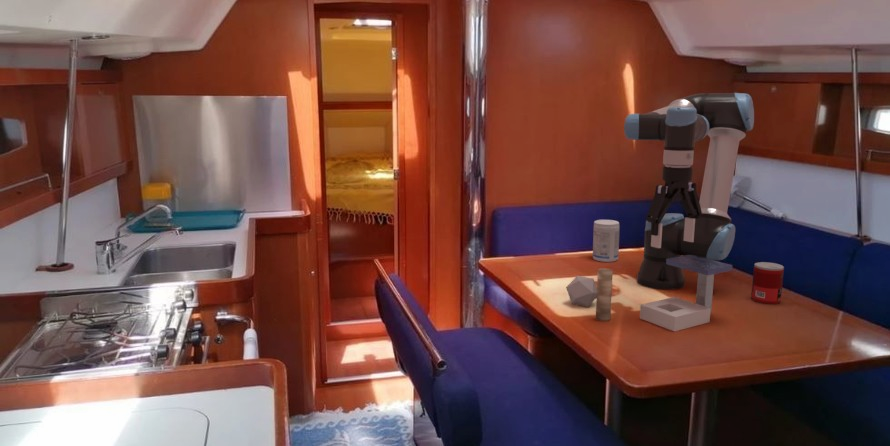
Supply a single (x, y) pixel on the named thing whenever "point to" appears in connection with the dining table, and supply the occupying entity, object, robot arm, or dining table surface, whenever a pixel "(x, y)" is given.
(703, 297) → the slate blue panel
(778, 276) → the canned food
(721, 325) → the dining table surface
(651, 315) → the socket block
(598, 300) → the peg
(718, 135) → the robot arm
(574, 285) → the die
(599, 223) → the supplement tub
